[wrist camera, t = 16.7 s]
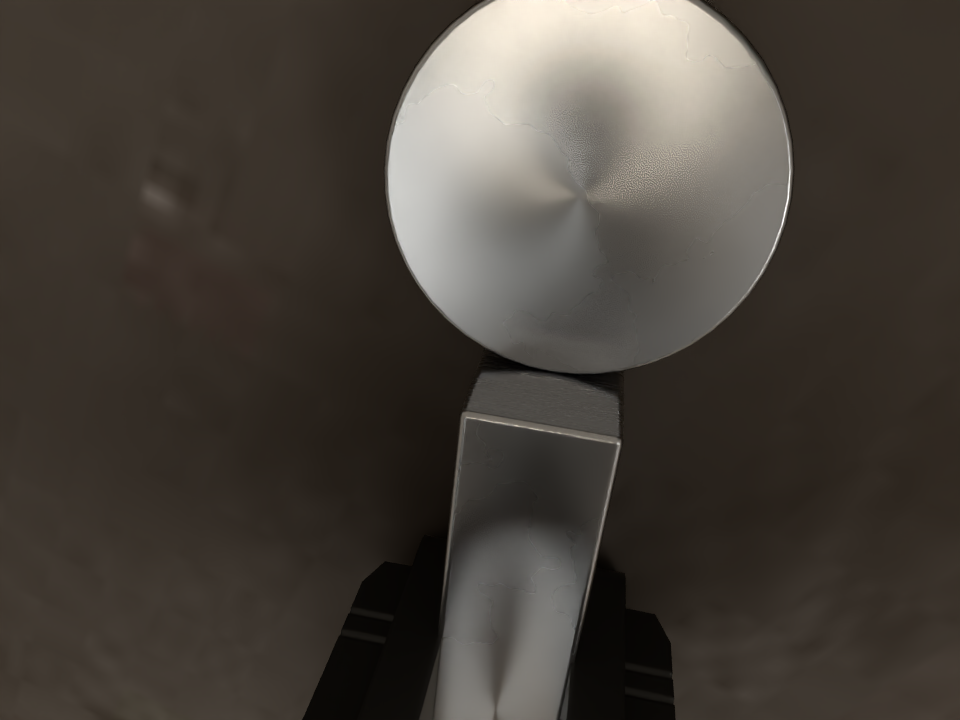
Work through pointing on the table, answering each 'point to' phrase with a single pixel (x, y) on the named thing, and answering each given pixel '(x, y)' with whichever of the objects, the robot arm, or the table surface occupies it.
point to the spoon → (569, 284)
